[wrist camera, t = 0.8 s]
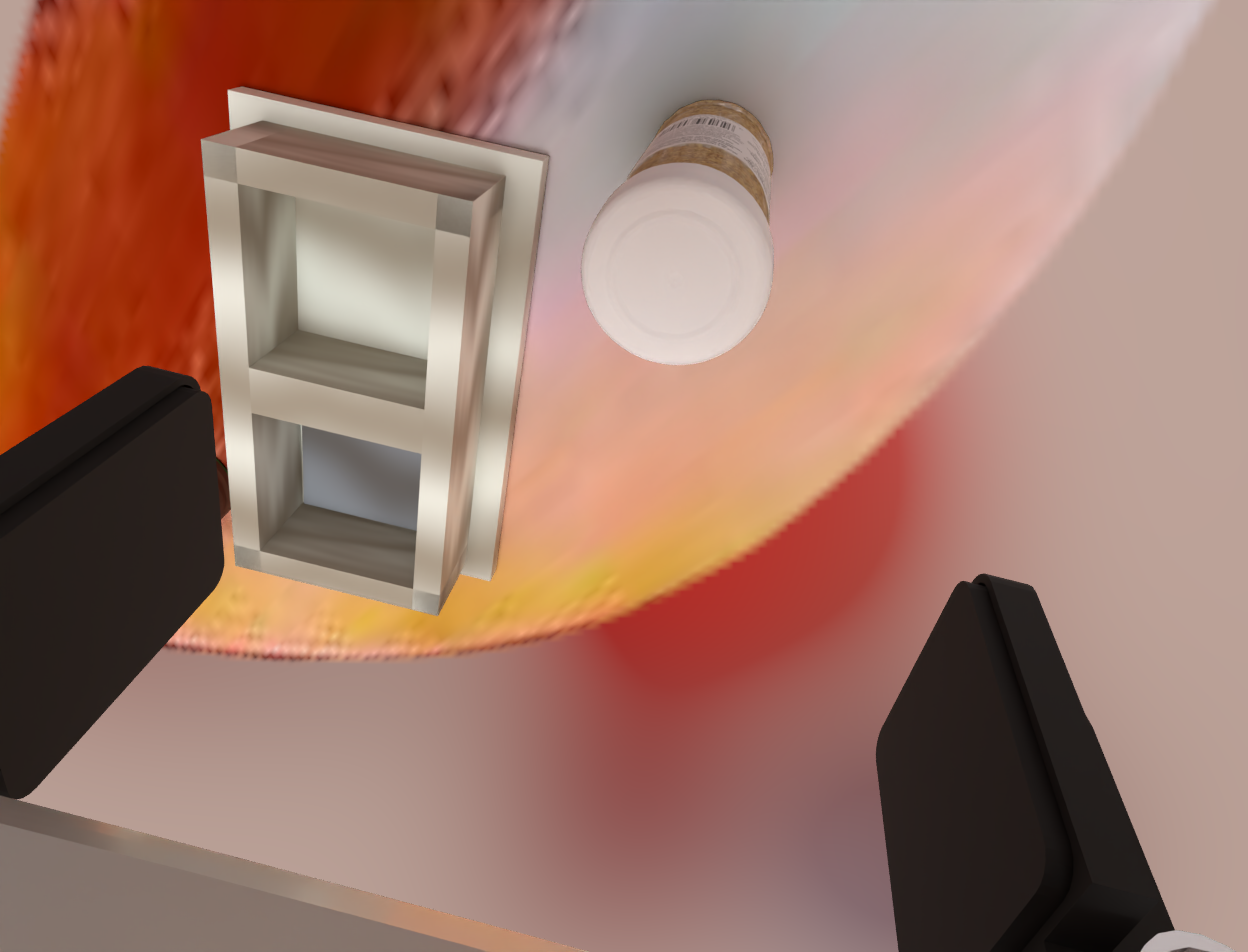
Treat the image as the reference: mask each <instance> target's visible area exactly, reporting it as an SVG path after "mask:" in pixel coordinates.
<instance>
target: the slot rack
mask: <svg viewBox="0 0 1248 952" xmlns="http://www.w3.org/2000/svg"><path fill="white" fill-rule="evenodd" d="M228 102H229V118H230V130H229V131H226V132H223V133H220V134H217V135H213V136H210V137H207V138H204V139H201V146H202V159H203V171H204V183H205V196H206V208H207V220H208V233H209V245H210V257H211V270H212V282H213V294H214V306H215V319H216V331H217V343H218V356H219V368H220V380H221V393H222V405H223V417H224V430H225V442H226V454H227V467H228V479H229V491H230V503H231V516H232V528H233V540H234V553H235V565H236V566H239V567H243V568H247V569H251V570H255V571H259V572H263V573H267V574H271V575H275V576H279V577H283V578H287V579H291V580H295V581H299V582H303V583H307V584H311V585H315V586H319V587H323V588H327V589H331V590H335V591H339V592H343V593H347V594H351V595H355V596H360V597H364V598H368V599H372V600H376V601H380V602H384V603H388V604H392V605H396V606H400V607H404V608H408V609H412V610H416V611H420V612H424V613H428V614H432V615H436V616H438V615H439V613H440V611H441V609H442V607H443V605H444V603H445V602H446V600H447V598H448V596H449V594H450V592H451V590H452V588H453V586H454V584H455V582H456V580H457V579H458V577H459V575H460V574H463V575H467V576H471V577H475V578H479V579H483V580H487V581H491V579H492V577H493V575H494V573H495V571H496V567H497V559H498V551H499V543H500V536H501V528H502V520H503V512H504V504H505V497H506V489H507V481H508V473H509V466H510V458H511V450H512V442H513V434H514V427H515V419H516V411H517V403H518V395H519V388H520V380H521V372H522V364H523V357H524V349H525V341H526V333H527V325H528V318H529V310H530V302H531V294H532V287H533V279H534V271H535V263H536V255H537V248H538V240H539V232H540V224H541V217H542V209H543V201H544V193H545V185H546V178H547V170H548V162H549V156H547V155H542V154H538V153H534V152H529V151H525V150H520V149H516V148H512V147H507V146H503V145H498V144H494V143H489V142H485V141H481V140H476V139H472V138H467V137H463V136H459V135H454V134H450V133H445V132H441V131H436V130H432V129H428V128H423V127H419V126H414V125H410V124H406V123H401V122H397V121H392V120H388V119H384V118H379V117H375V116H370V115H366V114H361V113H357V112H353V111H348V110H344V109H339V108H335V107H331V106H326V105H322V104H317V103H313V102H308V101H304V100H300V99H295V98H291V97H286V96H282V95H278V94H273V93H269V92H264V91H260V90H255V89H251V88H247V87H238V88H234V89H229V90H228Z"/></svg>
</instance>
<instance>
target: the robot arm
mask: <svg viewBox="0 0 1248 952" xmlns="http://www.w3.org/2000/svg"><path fill="white" fill-rule="evenodd" d="M223 568H224V551H223V539H222V526H221V514H220V501H219V489H218V476H217V464H216V451H215V439H214V427H213V414H212V404H211V399H210V397H209V395H208V394H207V393H205V392H203V391H201V390H200V386H199V384H198V382H197V381H196V380H195V379H194V378H193V377H191V376H187V375H183V374H179V373H175V372H171V371H167V370H163V369H159V368H155V367H151V366H142V367H139V368H137V369H135V370H133V371H132V372H130V373H129V374H127V375H125V376H124V377H122V378H121V379H119V380H118V381H116V382H114V383H113V384H111V385H110V386H108V387H107V388H105V389H103V390H102V391H100V392H99V393H97V394H96V395H94V396H92V397H91V398H89V399H88V400H86V401H85V402H83V403H82V404H80V405H78V406H77V407H75V408H74V409H72V410H71V411H69V412H67V413H66V414H64V415H63V416H61V417H60V418H58V419H56V420H55V421H53V422H52V423H50V424H49V425H47V426H45V427H44V428H42V429H41V430H39V431H38V432H36V433H34V434H33V435H31V436H30V437H28V438H27V439H25V440H23V441H22V442H20V443H19V444H17V445H16V446H14V447H12V448H11V449H9V450H8V451H6V452H5V453H3V454H1V455H0V952H588V951H585V950H581V949H577V948H574V947H570V946H566V945H563V944H559V943H555V942H552V941H548V940H544V939H541V938H537V937H533V936H530V935H526V934H522V933H518V932H515V931H511V930H507V929H503V928H500V927H495V926H492V925H488V924H485V923H481V922H477V921H474V920H470V919H466V918H462V917H459V916H455V915H451V914H447V913H444V912H440V911H436V910H432V909H429V908H425V907H421V906H417V905H414V904H410V903H406V902H402V901H399V900H395V899H391V898H387V897H384V896H380V895H376V894H372V893H369V892H365V891H361V890H358V889H354V888H350V887H346V886H343V885H339V884H335V883H331V882H328V881H324V880H320V879H316V878H312V877H308V876H305V875H301V874H297V873H293V872H290V871H286V870H282V869H278V868H275V867H271V866H267V865H263V864H260V863H256V862H252V861H249V860H245V859H241V858H237V857H233V856H230V855H225V854H222V853H218V852H214V851H210V850H207V849H203V848H199V847H195V846H191V845H187V844H184V843H179V842H176V841H172V840H168V839H164V838H161V837H157V836H153V835H149V834H145V833H141V832H138V831H134V830H130V829H126V828H122V827H119V826H115V825H111V824H107V823H103V822H99V821H96V820H92V819H87V818H84V817H80V816H76V815H72V814H69V813H65V812H61V811H57V810H53V809H50V808H46V807H42V806H38V805H34V804H30V803H27V802H22V801H19V800H17V799H21V798H24V797H25V796H27V795H29V794H30V793H31V792H32V791H33V790H34V789H35V788H37V786H38V785H39V784H40V783H41V782H42V781H43V780H44V779H45V778H46V776H47V775H48V774H49V773H50V772H51V771H52V770H53V768H55V766H56V765H57V764H58V763H59V762H60V761H61V760H62V759H63V758H64V756H65V755H66V754H67V753H68V752H69V751H70V750H71V749H72V747H73V746H74V745H75V744H76V743H77V742H78V741H79V740H80V739H81V737H82V736H83V735H84V734H85V733H86V732H87V731H88V730H89V729H90V727H91V726H92V725H93V724H94V723H95V722H96V721H97V720H98V719H99V717H100V716H101V715H102V714H103V713H104V712H105V711H106V710H107V708H108V707H109V706H110V705H111V704H112V703H113V702H114V700H115V699H116V698H117V697H118V696H119V695H120V694H121V693H122V692H123V691H124V690H125V688H126V687H127V686H128V685H129V684H130V683H131V682H132V681H133V679H134V678H135V677H136V676H137V675H138V674H139V673H140V672H141V671H142V669H143V668H144V667H145V666H146V665H147V664H148V663H149V662H150V660H151V659H152V658H153V657H154V656H155V655H156V654H157V653H158V652H159V651H160V649H161V648H162V647H163V646H164V645H165V644H166V643H167V642H168V640H169V639H170V638H171V637H172V636H173V635H174V634H175V633H176V632H177V630H178V629H179V628H180V627H181V626H182V625H183V624H184V623H185V622H186V620H187V619H188V618H189V617H190V616H191V615H192V614H193V613H194V612H195V610H196V609H197V608H198V607H199V606H200V605H201V604H202V603H203V601H204V600H205V599H206V598H207V597H208V596H209V595H210V594H211V593H212V591H213V590H214V589H215V588H216V586H217V584H218V583H219V581H220V578H221V576H222V573H223ZM876 763H877V771H878V781H879V789H880V797H881V806H882V814H883V822H884V831H885V840H886V848H887V856H888V865H889V874H890V882H891V891H892V898H893V906H894V916H895V924H896V932H897V941H898V950H899V952H1236V951H1234V950H1233V949H1231V948H1230V947H1228V946H1226V945H1224V944H1222V943H1219V942H1217V941H1215V940H1213V939H1210V938H1208V937H1206V936H1204V935H1201V934H1196V933H1191V932H1185V931H1180V930H1175V929H1174V927H1173V925H1172V922H1171V920H1170V917H1169V915H1168V912H1167V910H1166V907H1165V905H1164V902H1163V900H1162V898H1161V895H1160V892H1159V890H1158V887H1157V885H1156V883H1155V880H1154V878H1153V875H1152V873H1151V870H1150V868H1149V865H1148V863H1147V860H1146V858H1145V856H1144V853H1143V850H1142V848H1141V846H1140V843H1139V840H1138V838H1137V836H1136V833H1135V831H1134V828H1133V826H1132V823H1131V821H1130V818H1129V816H1128V813H1127V811H1126V808H1125V806H1124V803H1123V801H1122V798H1121V796H1120V794H1119V791H1118V789H1117V786H1116V784H1115V781H1114V779H1113V776H1112V774H1111V771H1110V769H1109V767H1108V764H1107V761H1106V759H1105V757H1104V754H1103V752H1102V749H1101V747H1100V744H1099V742H1098V739H1097V737H1096V734H1095V732H1094V729H1093V727H1092V725H1091V724H1090V722H1089V720H1088V719H1087V717H1086V715H1085V713H1084V711H1083V708H1082V706H1081V703H1080V700H1079V698H1078V695H1077V693H1076V691H1075V688H1074V686H1073V683H1072V680H1071V678H1070V675H1069V673H1068V670H1067V668H1066V665H1065V663H1064V660H1063V658H1062V656H1061V653H1060V651H1059V648H1058V646H1057V643H1056V641H1055V638H1054V636H1053V633H1052V631H1051V628H1050V626H1049V623H1048V621H1047V618H1046V616H1045V614H1044V611H1043V608H1042V606H1041V603H1040V601H1039V598H1038V596H1037V593H1036V592H1035V590H1034V588H1033V587H1032V586H1030V585H1028V584H1024V583H1020V582H1016V581H1012V580H1007V579H1004V578H1000V577H996V576H992V575H988V574H980V575H978V576H977V577H976V578H975V579H974V580H973V582H972V583H970V582H966V581H961V582H960V583H958V584H957V586H956V587H955V589H954V590H953V592H952V594H951V596H950V598H949V600H948V602H947V604H946V606H945V607H944V609H943V611H942V613H941V615H940V617H939V619H938V621H937V623H936V625H935V627H934V629H933V631H932V632H931V634H930V637H929V638H928V640H927V642H926V644H925V646H924V648H923V650H922V652H921V654H920V656H919V657H918V660H917V661H916V663H915V665H914V667H913V669H912V671H911V673H910V675H909V677H908V679H907V681H906V683H905V684H904V686H903V688H902V690H901V692H900V694H899V696H898V698H897V700H896V702H895V704H894V705H893V707H892V709H891V711H890V713H889V715H888V717H887V719H886V721H885V723H884V725H883V727H882V729H881V731H880V734H879V737H878V741H877V747H876ZM15 799H16V800H15Z"/></svg>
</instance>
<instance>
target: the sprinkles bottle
mask: <svg viewBox="0 0 1248 952" xmlns="http://www.w3.org/2000/svg"><path fill="white" fill-rule="evenodd" d="M772 171H773V153H772V149H771V144H770V140H769V137H768V136H767V134H766V133H765V131H764V129H763V127H762V126H761V124H760V123H759V121H758V120H757V119H756V118H755V117H754V116H753V115H752V114H750V113H749V112H748V111H746V110H745V109H744V108H742V107H740V106H738V105H736V104H734V103H731V102H724V101H721V100H713V101H712V100H702V101H697V102H695V103H692V104H690V105H687V106H685V107H683V108H681V109H679V110H678V111H677V112H676V113H675V114H673V115H672V116H671V117H670V118H669V119H668V120H666V121H665V122H664V123H663V125H662V126H661V128H660V129H659V131H658V132H657V134H656V136H655V138H654V140H653V141H652V143H651V144H650V145H649V147H648V148H647V150H646V151H645V152H644V154H643V155H642V157H641V158H640V159H639V161H638V162H637V164H636V165H635V167H634V168H633V169H632V171H631V172H630V174H629V176H628V178H627V181H626V182H625V183H623V184H622V185H621V186H620V187H619V188H618V189H616V191H615V192H614V193H613V194H612V195H611V196H610V197H609V199H608V200H607V201H606V203H605V204H604V206H603V207H602V209H601V210H600V212H599V214H598V215H597V217H596V219H595V221H594V223H593V225H592V227H591V229H590V231H589V233H588V235H587V238H586V241H585V244H584V248H583V254H582V261H581V278H582V285H583V290H584V294H585V298H586V301H587V304H588V307H589V309H590V311H591V312H592V314H593V316H594V318H595V319H596V321H597V323H598V324H599V325H600V327H601V328H602V329H603V330H604V331H605V333H606V334H607V335H608V336H609V337H610V338H611V339H612V340H613V341H614V342H616V343H617V344H618V345H619V346H621V347H622V348H624V349H625V350H627V351H628V352H630V353H632V354H633V355H636V356H638V357H640V358H643V359H646V360H648V361H652V362H656V363H660V364H668V365H689V364H696V363H701V362H704V361H708V360H711V359H713V358H715V357H718V356H720V355H722V354H724V353H726V352H727V351H729V350H731V349H732V348H734V347H735V346H736V345H737V344H739V343H740V342H741V341H742V340H743V339H744V338H745V337H746V336H747V335H748V334H749V333H750V332H751V331H752V329H753V328H754V327H755V325H756V324H757V322H758V321H759V319H760V318H761V316H762V314H763V312H764V310H765V308H766V305H767V302H768V299H769V296H770V291H771V287H772V281H773V269H774V247H773V240H772V236H771V232H770V228H769V222H770V194H771V175H772Z"/></svg>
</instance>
